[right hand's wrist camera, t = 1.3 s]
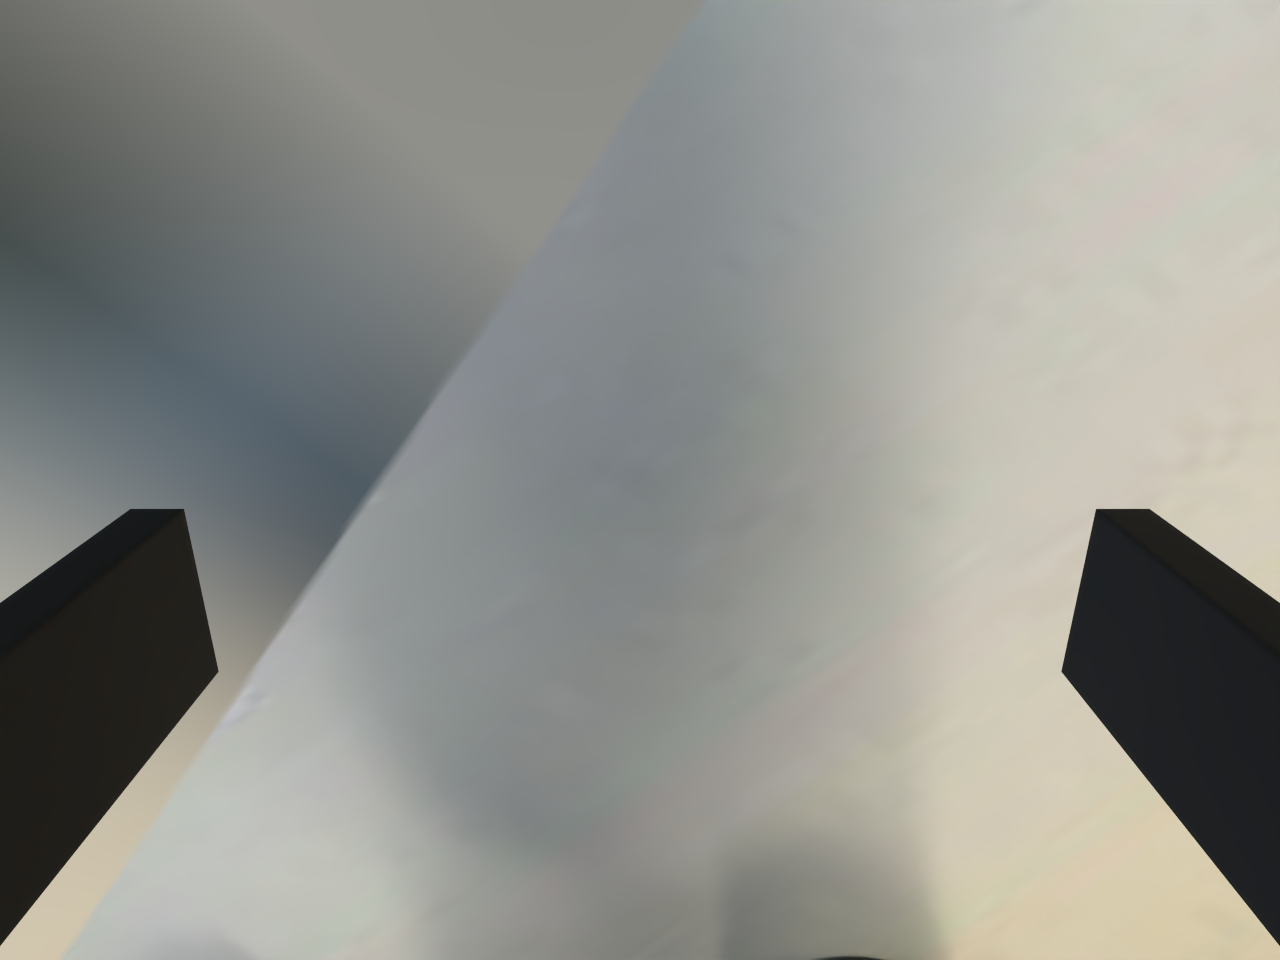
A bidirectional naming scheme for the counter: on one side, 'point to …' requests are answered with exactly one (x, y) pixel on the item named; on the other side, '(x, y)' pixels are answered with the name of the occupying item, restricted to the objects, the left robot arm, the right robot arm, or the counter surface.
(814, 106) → the counter surface
